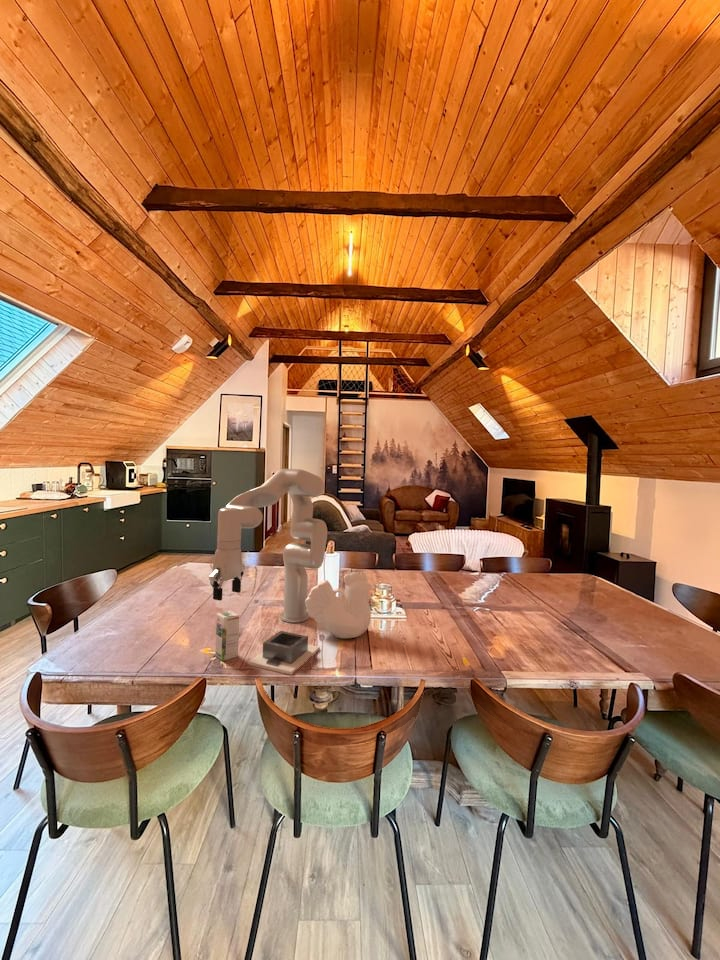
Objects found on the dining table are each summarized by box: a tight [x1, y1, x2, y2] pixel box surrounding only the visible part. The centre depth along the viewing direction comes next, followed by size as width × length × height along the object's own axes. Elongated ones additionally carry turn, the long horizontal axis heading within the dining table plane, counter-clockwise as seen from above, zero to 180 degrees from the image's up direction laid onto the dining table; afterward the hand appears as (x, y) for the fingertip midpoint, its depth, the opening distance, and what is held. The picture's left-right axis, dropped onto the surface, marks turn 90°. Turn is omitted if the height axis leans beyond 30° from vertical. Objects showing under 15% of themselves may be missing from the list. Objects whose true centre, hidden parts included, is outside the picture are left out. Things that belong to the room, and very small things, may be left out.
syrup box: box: [214, 610, 240, 662], centre depth 148 cm, size 6×6×14 cm
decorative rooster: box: [305, 571, 373, 639], centre depth 170 cm, size 25×16×25 cm, turn 81°
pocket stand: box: [247, 630, 321, 676], centre depth 149 cm, size 20×16×6 cm
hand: (227, 595), depth 147 cm, fingers open, 9 cm apart
